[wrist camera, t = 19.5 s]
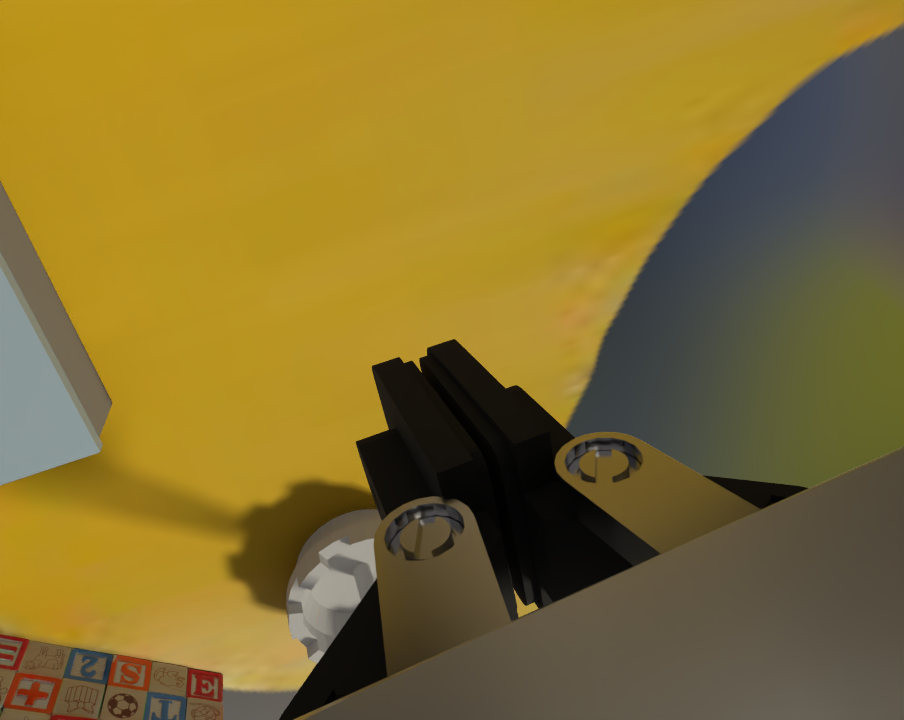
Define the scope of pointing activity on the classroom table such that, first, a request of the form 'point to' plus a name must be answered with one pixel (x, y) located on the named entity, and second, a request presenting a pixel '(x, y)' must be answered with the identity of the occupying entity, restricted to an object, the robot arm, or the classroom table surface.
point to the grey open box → (51, 314)
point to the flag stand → (331, 579)
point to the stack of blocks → (100, 686)
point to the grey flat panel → (35, 395)
